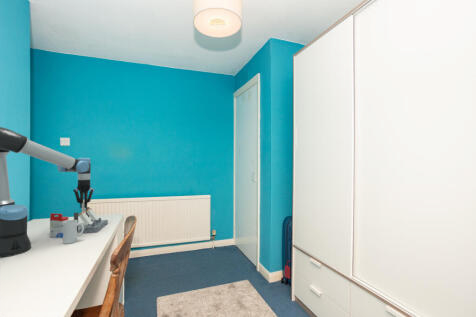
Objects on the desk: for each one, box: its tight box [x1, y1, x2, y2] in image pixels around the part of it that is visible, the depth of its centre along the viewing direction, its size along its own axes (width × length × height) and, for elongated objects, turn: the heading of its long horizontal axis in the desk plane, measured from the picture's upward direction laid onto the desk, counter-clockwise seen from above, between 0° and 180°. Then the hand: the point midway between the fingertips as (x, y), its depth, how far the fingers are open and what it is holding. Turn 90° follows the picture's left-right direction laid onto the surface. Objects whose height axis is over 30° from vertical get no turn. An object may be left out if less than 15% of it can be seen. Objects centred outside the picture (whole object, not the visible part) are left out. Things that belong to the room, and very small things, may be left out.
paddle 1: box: [78, 211, 93, 226], centre depth 151 cm, size 4×2×10 cm
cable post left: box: [73, 212, 79, 232], centre depth 150 cm, size 7×2×12 cm, turn 13°
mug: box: [62, 219, 85, 245], centre depth 132 cm, size 10×7×12 cm, turn 118°
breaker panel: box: [79, 217, 109, 234], centre depth 158 cm, size 21×10×5 cm, turn 13°
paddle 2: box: [85, 207, 100, 221], centre depth 162 cm, size 4×2×10 cm
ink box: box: [49, 213, 69, 239], centre depth 141 cm, size 8×5×15 cm, turn 84°
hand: (83, 212), depth 161 cm, fingers closed
